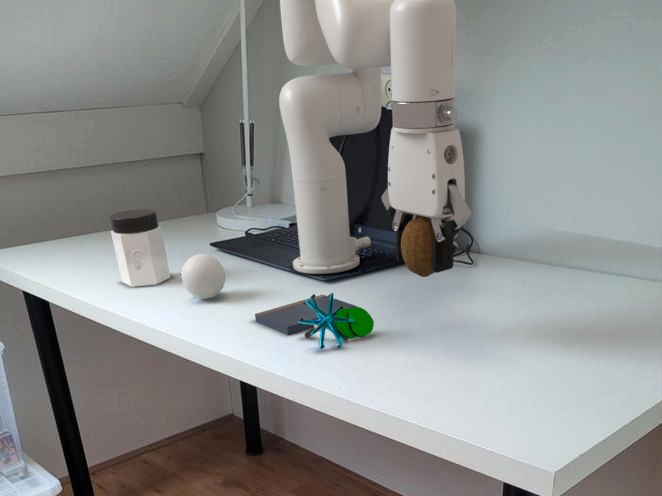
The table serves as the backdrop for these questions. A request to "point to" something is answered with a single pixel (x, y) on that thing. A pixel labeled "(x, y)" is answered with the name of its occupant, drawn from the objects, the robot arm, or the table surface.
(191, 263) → the white sphere
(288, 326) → the notebook
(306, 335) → the stick construction toy
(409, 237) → the fruit
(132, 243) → the jar
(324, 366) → the table surface
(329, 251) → the robot arm
